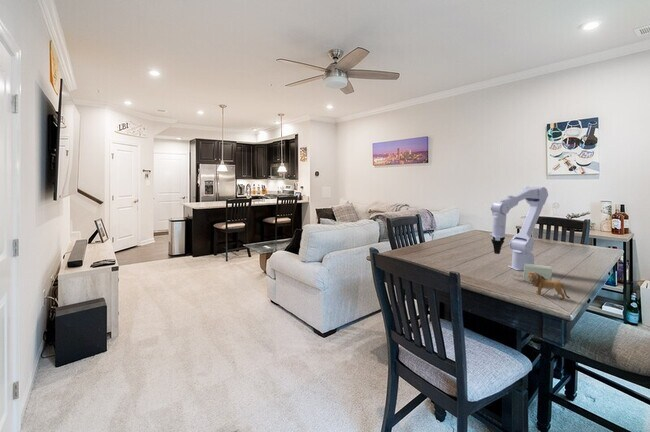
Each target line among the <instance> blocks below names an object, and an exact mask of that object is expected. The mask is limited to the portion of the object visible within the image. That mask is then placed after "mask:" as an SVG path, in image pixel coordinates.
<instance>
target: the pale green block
mask: <svg viewBox="0 0 650 432" xmlns="http://www.w3.org/2000/svg"><path fill="white" fill-rule="evenodd" d="M530 272H535V273H538V274H539V275H541V276H543V277H544V278H545V279H547V280H550V281H553V279H552V278H553V268H552V266H548V265H540V264H534V265H533V264H524V270H523V282H528V283H530V282H529V281H528V279H527V277H528V273H530Z"/></svg>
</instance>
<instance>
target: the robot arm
mask: <svg viewBox="0 0 650 432" xmlns="http://www.w3.org/2000/svg"><path fill="white" fill-rule="evenodd" d="M548 197H549V192H548V189H547V188H546V187H545V186H543V187H539V186H538V187H537V186H536V187H535V186H526V187H524V188H522V190H521V191H519V192H517V194H515V195H512V194H511V195H509V194H508V195H507V197H506V198H504V199H501V200H500V201H495V202H494V203H492V205H491V207H490V210H491V214H492V232H491V233H489V236H492V238H491V239H490V241H491V243H492V245H493V251H494V254H495V255H499V254H500V253H501V250H502V246H503V244H504V243H505V238H506V225H507V214H509V212H510V210H511V209H513V208H515V207H517V206H518V205H519V202H521V201H524V200H525V202H526V203H527V204H528V205H529V206H530V207H529V208H528V211H527V213H526V216H525V218H524V221H523V224H522V226H521V228H520V231H519V232H518V233H517V234H514V235H513V237H512V238H511V239H510V241H509V244H508V245H509V249H511V252H512V257H511V258H512V259H511V265H507V266H508V268H510V269H512V270H515V271H524V264H533V265H535V264H534V263H535V256H534V253H532V252H533V250H534V248H535V247H534V244H535V242H536V241H535V240H534V238H533V237H532V234H533V232H534V230H535V227H536V225H537V222H538V220H539V217H540V215H541V212H542V210H543V208H544V205H545V204H546V202H547V200H548Z"/></svg>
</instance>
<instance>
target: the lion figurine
mask: <svg viewBox="0 0 650 432" xmlns="http://www.w3.org/2000/svg"><path fill="white" fill-rule="evenodd" d="M527 279H528V281H529V282H528V283H530V284H531V285H532V287H535V288H537V290H536V291H535V293H536V295H537V296H541V294H542V289H545V290H553V289H554V290H555V292H556V294H555V293H554V294H553V296H554V297H559V296H561V297H559V299H560V300H561V301H564V300H565V299H566V298H567V299H571V297H570V296H568V295H567V291H566V288H565V285H564V284H563V283H562V282H560V281H558V280H551V281H550V280H547V279H545V278H544V277H543V276H541V275H539V274H538V273H535V272H530V273H528V277H527ZM562 290H563V291H562ZM565 297H566V298H565Z"/></svg>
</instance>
